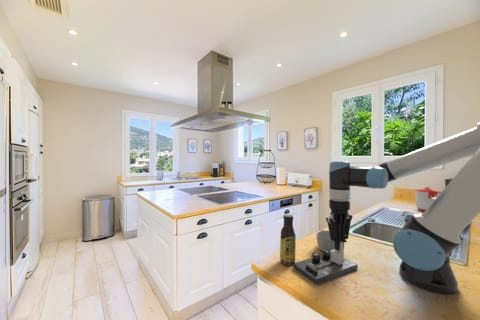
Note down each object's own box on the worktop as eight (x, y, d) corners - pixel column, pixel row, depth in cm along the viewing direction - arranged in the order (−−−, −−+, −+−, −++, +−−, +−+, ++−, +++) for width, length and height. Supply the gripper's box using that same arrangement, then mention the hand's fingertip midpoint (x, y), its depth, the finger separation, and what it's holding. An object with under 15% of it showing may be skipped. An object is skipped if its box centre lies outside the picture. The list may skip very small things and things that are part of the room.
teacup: (344, 257, 89) (344, 239, 89) (318, 255, 91) (318, 237, 91) (336, 244, 102) (335, 228, 102) (313, 242, 104) (313, 227, 104)
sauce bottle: (286, 268, 80) (286, 218, 80) (277, 261, 86) (276, 214, 86) (299, 264, 83) (298, 216, 83) (288, 257, 89) (288, 212, 89)
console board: (357, 269, 79) (357, 257, 79) (316, 284, 69) (316, 271, 69) (331, 256, 90) (331, 246, 90) (293, 268, 80) (293, 257, 80)
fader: (343, 263, 79) (343, 253, 79) (339, 264, 78) (339, 254, 78) (334, 259, 83) (334, 249, 83) (330, 260, 82) (330, 250, 82)
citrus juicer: (422, 213, 158) (422, 188, 158) (411, 208, 174) (411, 185, 174) (447, 215, 153) (447, 188, 153) (433, 209, 170) (433, 186, 170)
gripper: (342, 196, 87) (342, 250, 88) (320, 199, 82) (320, 256, 82) (358, 199, 81) (358, 258, 81) (336, 202, 75) (336, 265, 75)
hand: (339, 257), depth 81 cm, fingers closed
